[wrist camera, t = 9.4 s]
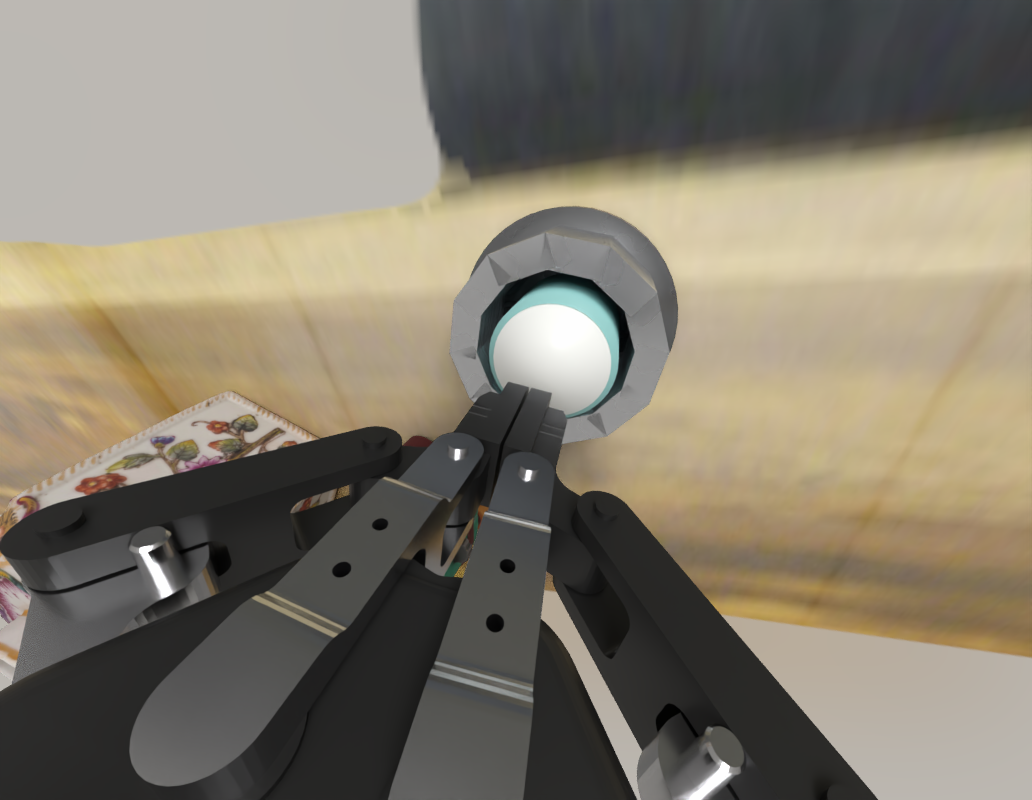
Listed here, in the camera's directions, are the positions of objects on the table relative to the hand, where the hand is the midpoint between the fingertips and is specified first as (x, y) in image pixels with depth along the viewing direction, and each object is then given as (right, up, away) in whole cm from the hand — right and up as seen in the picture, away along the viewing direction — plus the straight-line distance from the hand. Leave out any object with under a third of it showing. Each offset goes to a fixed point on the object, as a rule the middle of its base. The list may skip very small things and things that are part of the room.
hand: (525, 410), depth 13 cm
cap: (+3, +5, +9) cm, 10 cm away
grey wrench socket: (+3, +5, +9) cm, 11 cm away
